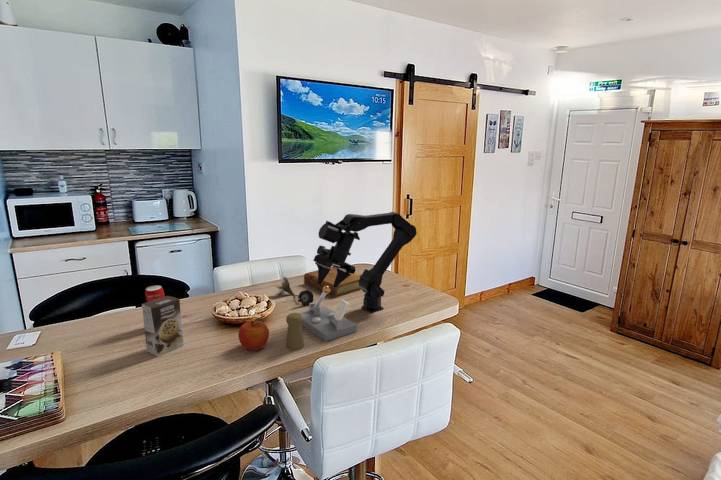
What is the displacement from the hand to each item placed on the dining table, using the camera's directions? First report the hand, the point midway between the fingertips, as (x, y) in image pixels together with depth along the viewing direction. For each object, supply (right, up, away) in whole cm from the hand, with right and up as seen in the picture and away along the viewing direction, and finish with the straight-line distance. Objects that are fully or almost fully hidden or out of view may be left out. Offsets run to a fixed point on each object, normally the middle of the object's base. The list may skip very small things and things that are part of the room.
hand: (326, 285), depth 151 cm
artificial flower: (-17, -8, +23) cm, 29 cm away
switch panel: (0, -14, -3) cm, 14 cm away
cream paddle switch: (+3, -12, -10) cm, 16 cm away
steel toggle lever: (-5, -10, +1) cm, 11 cm away
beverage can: (-59, -14, -6) cm, 61 cm away
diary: (+1, -5, +38) cm, 39 cm away
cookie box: (-50, -18, -21) cm, 57 cm away
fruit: (-22, -18, -19) cm, 34 cm away
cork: (-9, -18, -18) cm, 27 cm away
